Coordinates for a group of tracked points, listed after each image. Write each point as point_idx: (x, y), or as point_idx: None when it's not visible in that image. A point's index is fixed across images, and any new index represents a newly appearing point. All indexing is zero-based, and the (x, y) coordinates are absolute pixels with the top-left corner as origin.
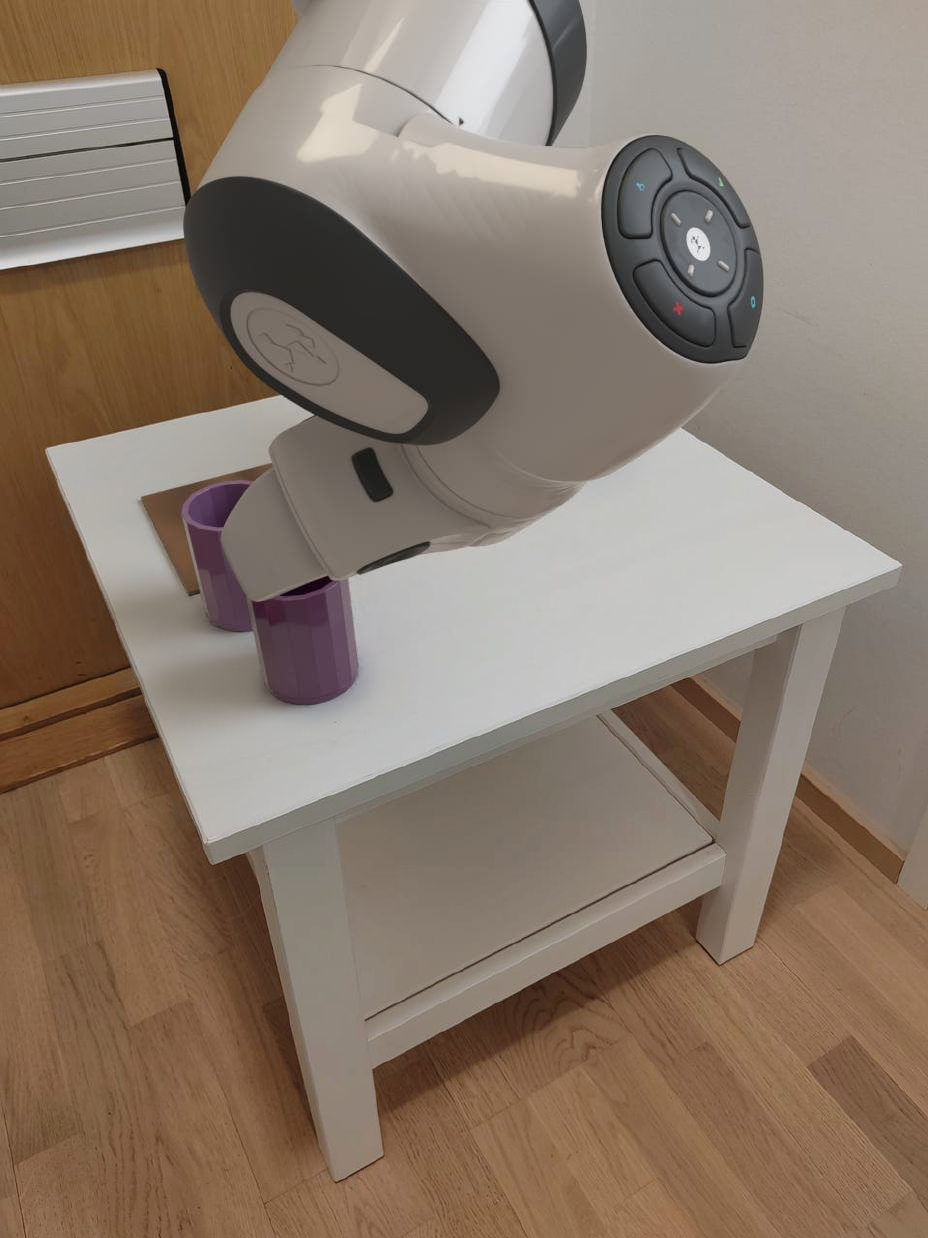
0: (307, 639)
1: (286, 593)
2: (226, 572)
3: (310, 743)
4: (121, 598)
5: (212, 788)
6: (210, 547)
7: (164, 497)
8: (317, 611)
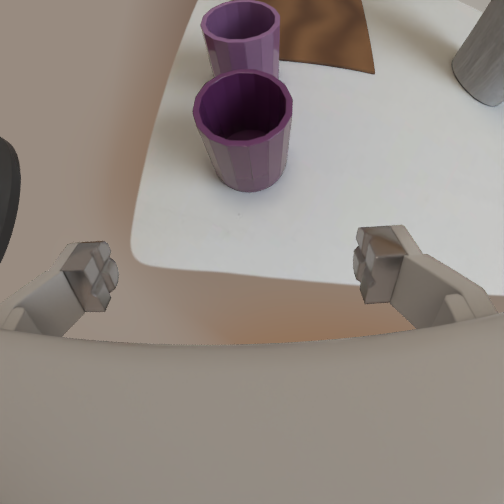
0: (229, 165)
1: (248, 102)
2: (219, 65)
3: (213, 223)
4: (182, 47)
5: (142, 225)
6: (210, 47)
7: None
8: (239, 155)
